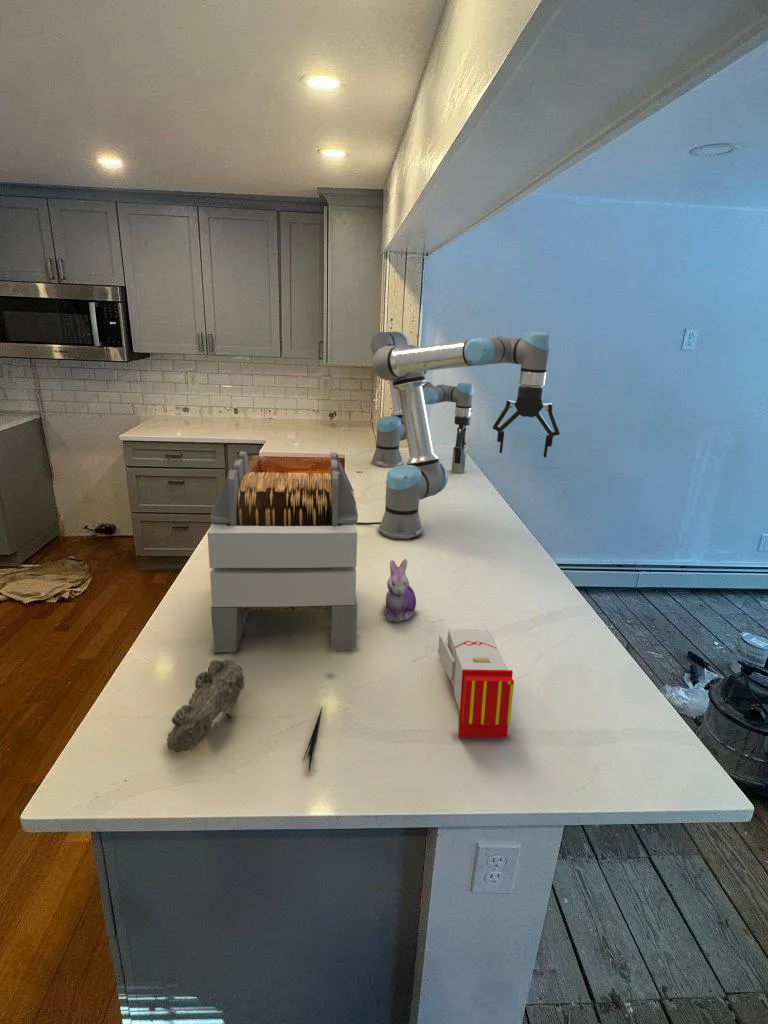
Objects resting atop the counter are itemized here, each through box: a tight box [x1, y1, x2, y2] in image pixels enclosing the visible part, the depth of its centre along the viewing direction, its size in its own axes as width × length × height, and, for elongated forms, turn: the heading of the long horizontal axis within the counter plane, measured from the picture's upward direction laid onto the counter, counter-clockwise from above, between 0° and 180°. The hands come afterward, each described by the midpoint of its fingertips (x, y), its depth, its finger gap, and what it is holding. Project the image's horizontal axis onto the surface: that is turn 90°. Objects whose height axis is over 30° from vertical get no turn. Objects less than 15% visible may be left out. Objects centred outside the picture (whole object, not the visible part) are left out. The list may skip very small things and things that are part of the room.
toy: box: [437, 628, 515, 738], centre depth 117 cm, size 12×13×30 cm
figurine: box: [384, 558, 417, 623], centre depth 145 cm, size 9×10×15 cm
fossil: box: [166, 658, 245, 754], centre depth 106 cm, size 22×10×15 cm
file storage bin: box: [206, 450, 359, 654], centre depth 137 cm, size 34×33×41 cm
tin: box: [451, 445, 467, 474], centre depth 279 cm, size 6×6×12 cm
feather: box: [301, 673, 332, 771], centre depth 108 cm, size 2×28×2 cm
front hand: (522, 454), depth 179 cm, fingers open, 13 cm apart
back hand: (458, 460), depth 279 cm, fingers open, 11 cm apart
